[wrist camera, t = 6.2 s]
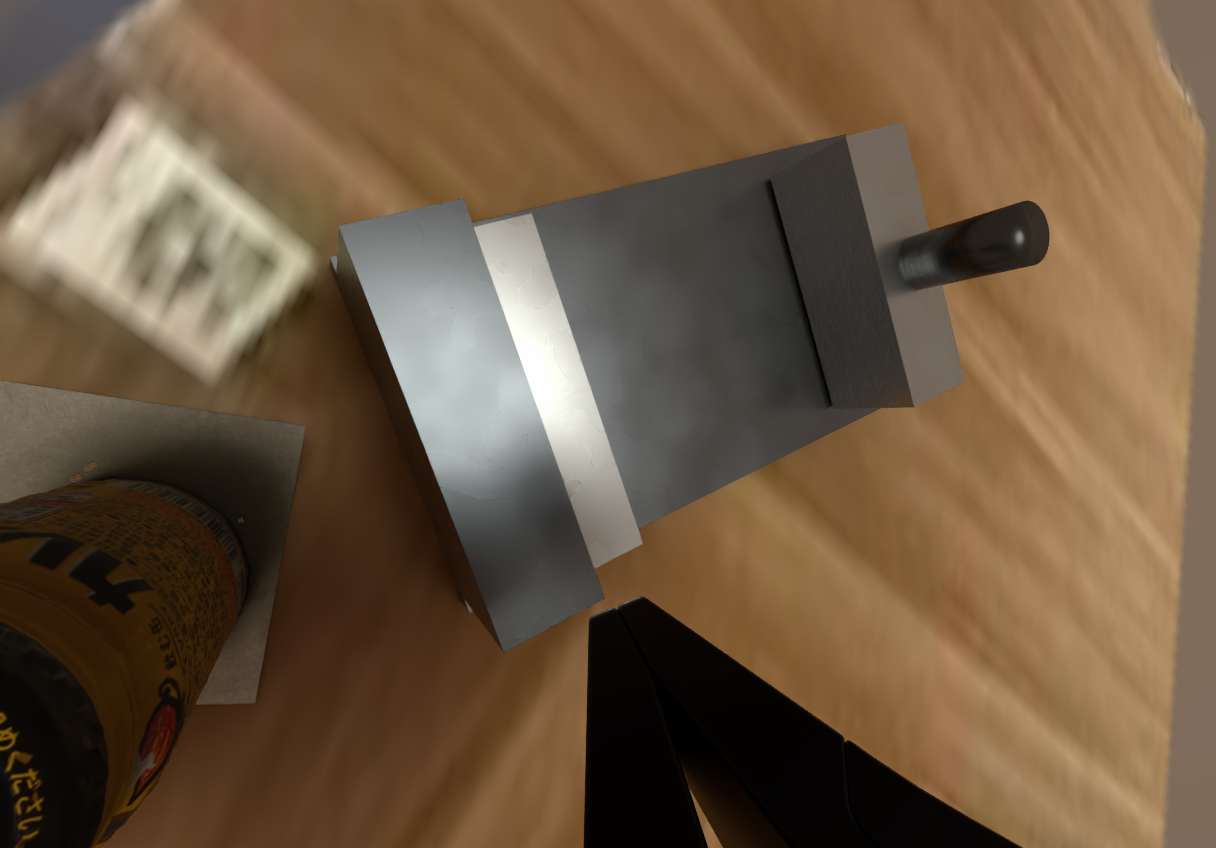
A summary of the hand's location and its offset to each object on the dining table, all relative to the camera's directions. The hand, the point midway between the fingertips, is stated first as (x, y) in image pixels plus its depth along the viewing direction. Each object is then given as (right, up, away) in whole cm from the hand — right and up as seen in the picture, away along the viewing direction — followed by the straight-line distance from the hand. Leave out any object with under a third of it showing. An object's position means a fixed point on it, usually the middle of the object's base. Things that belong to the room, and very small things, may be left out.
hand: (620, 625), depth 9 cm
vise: (+2, +6, +16) cm, 17 cm away
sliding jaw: (+9, +9, +17) cm, 22 cm away
